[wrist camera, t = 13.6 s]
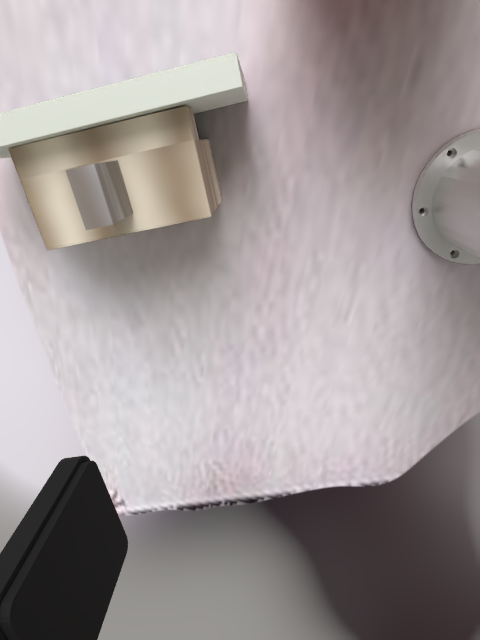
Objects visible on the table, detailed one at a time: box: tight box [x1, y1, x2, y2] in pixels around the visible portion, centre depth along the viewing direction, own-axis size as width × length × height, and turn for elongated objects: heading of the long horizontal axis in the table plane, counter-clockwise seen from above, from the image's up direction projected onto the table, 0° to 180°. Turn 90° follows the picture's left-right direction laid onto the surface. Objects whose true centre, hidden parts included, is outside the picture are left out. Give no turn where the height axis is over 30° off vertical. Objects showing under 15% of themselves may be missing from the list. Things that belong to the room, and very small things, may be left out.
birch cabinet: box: [8, 106, 222, 250], centre depth 36 cm, size 14×8×15 cm, turn 102°
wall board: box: [0, 52, 248, 158], centre depth 35 cm, size 23×2×12 cm, turn 102°
